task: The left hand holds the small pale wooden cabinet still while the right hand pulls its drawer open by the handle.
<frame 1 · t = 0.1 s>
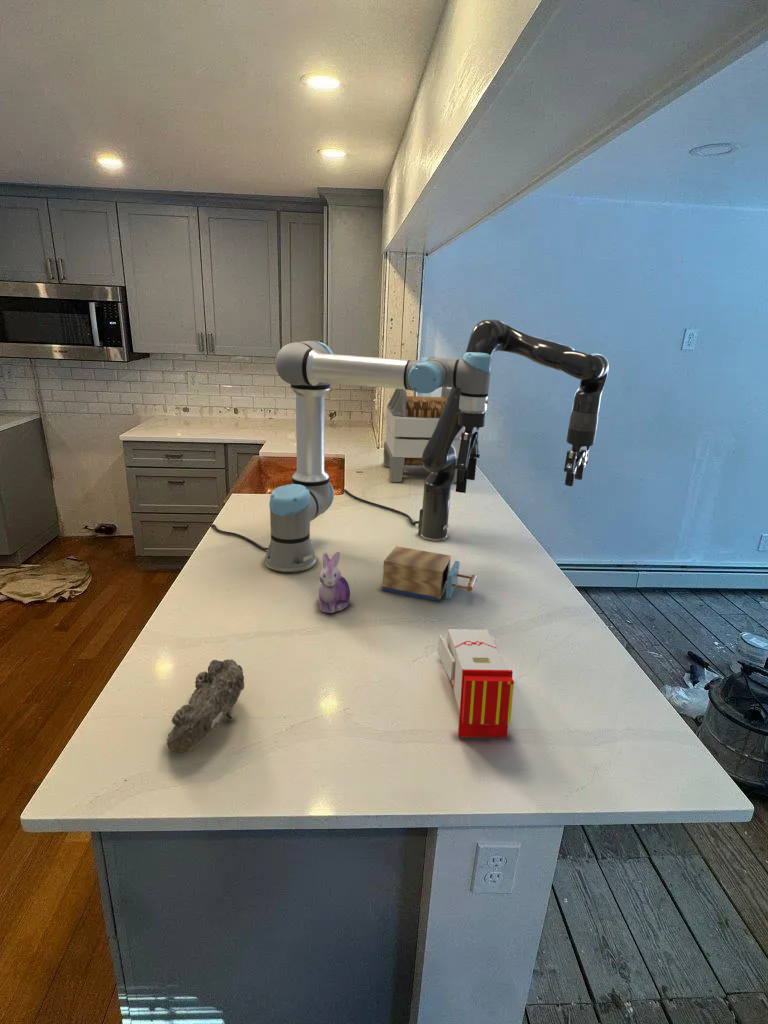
left hand: (465, 485, 162), 28 cm above the counter, tool pointing down, fingers open, 13 cm apart
right hand: (573, 482, 165), 29 cm above the counter, tool pointing down, fingers open, 8 cm apart
cabinet: (415, 586, 162), on the counter
fossil: (212, 717, 108), on the counter
toy: (469, 691, 119), on the counter
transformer: (419, 473, 275), on the counter
drawer: (438, 576, 159), point 4 cm above the counter, slide at 1.5 cm
figurine: (333, 605, 150), on the counter
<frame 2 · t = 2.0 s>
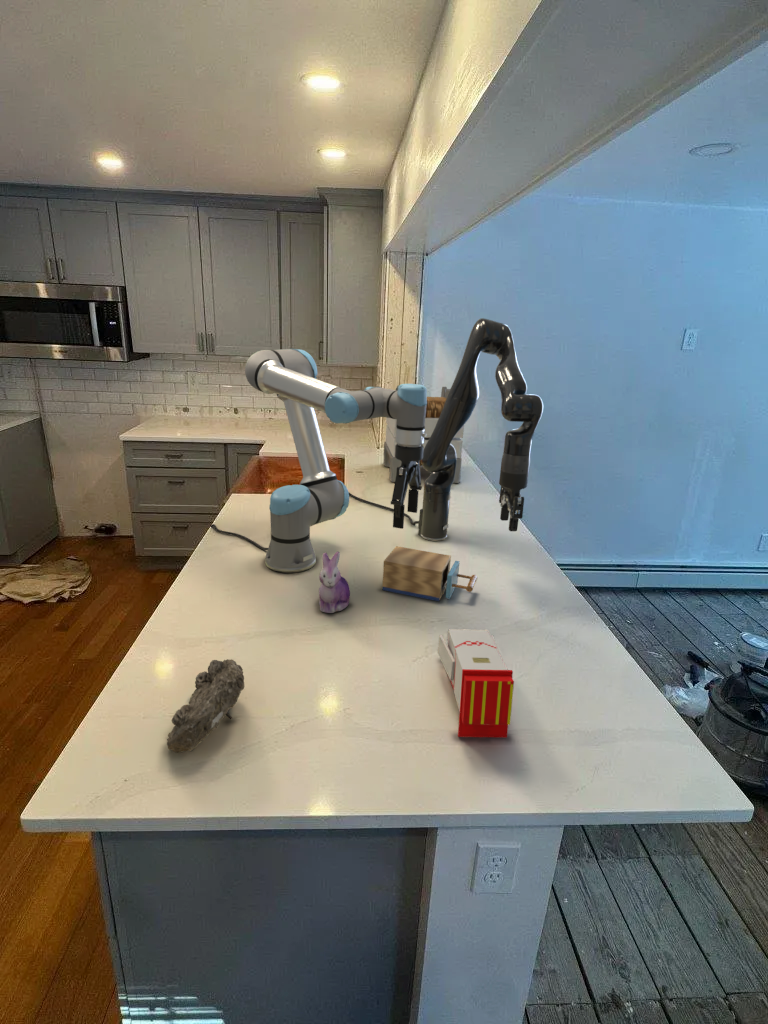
left hand: (405, 519, 157), 20 cm above the counter, tool pointing down, fingers open, 13 cm apart
right hand: (508, 525, 158), 19 cm above the counter, tool pointing down, fingers open, 8 cm apart
nothing on the counter moved.
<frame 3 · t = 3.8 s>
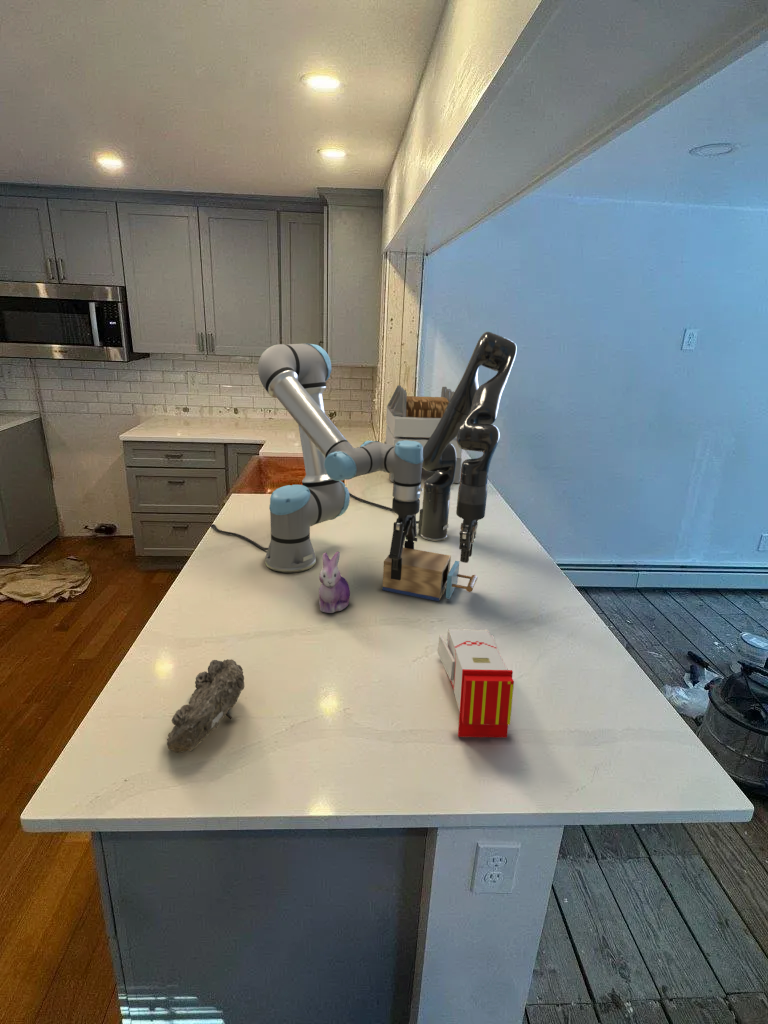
left hand: (402, 570, 162), 4 cm above the counter, tool pointing down, fingers closed on cabinet, 11 cm apart
right hand: (465, 558, 155), 11 cm above the counter, tool pointing down, fingers open, 3 cm apart
cabinet: (415, 586, 162), on the counter, touching left hand
everything else where it was.
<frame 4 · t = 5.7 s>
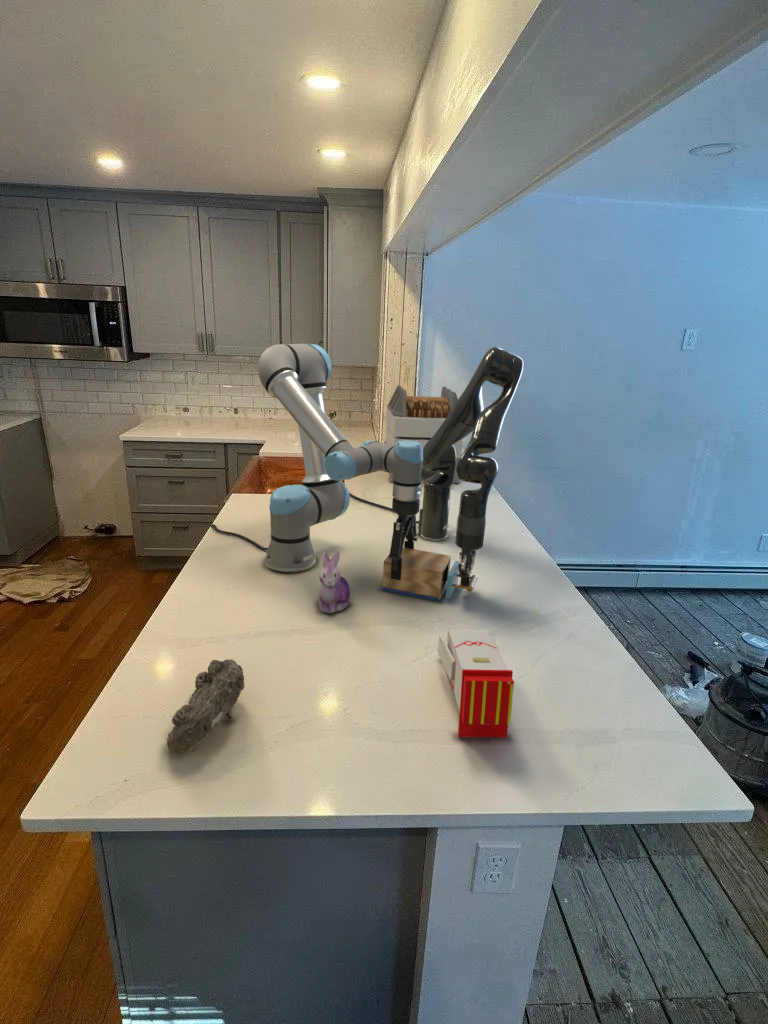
left hand: (402, 570, 162), 4 cm above the counter, tool pointing down, fingers closed on cabinet, 11 cm apart
right hand: (464, 586, 157), 3 cm above the counter, tool pointing down, fingers closed
cabinet: (415, 586, 162), on the counter, touching left hand
drawer: (438, 576, 159), point 4 cm above the counter, slide at 1.6 cm, touching right hand
everything else where it was.
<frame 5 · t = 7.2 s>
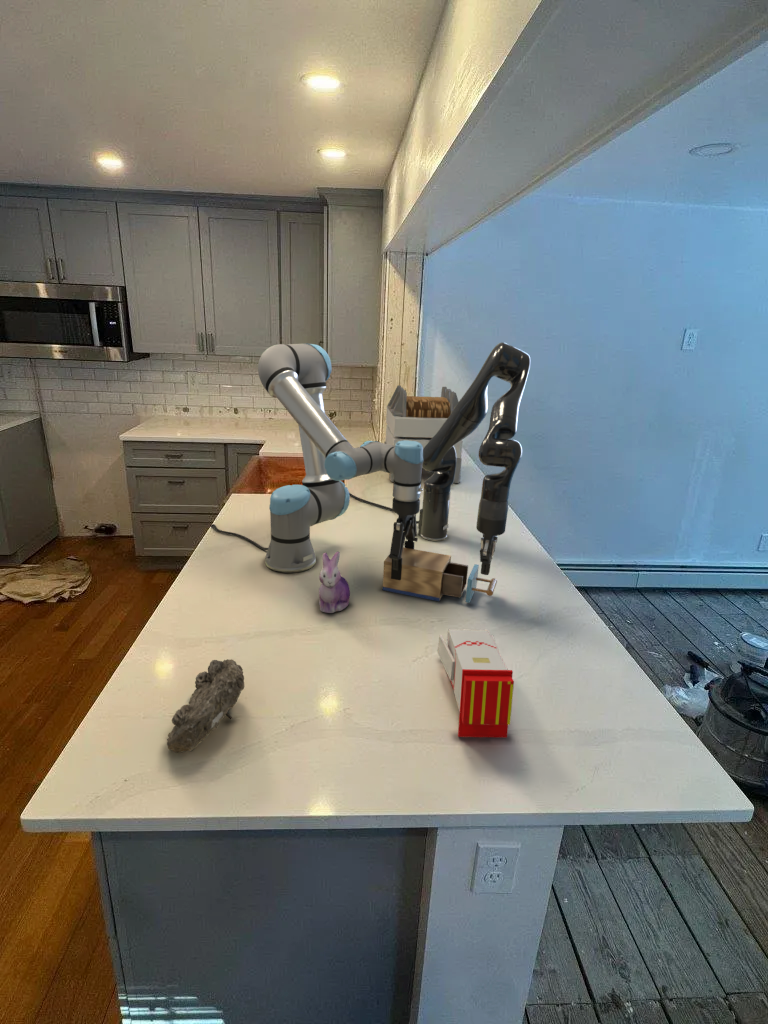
left hand: (402, 570, 162), 4 cm above the counter, tool pointing down, fingers closed on cabinet, 11 cm apart
right hand: (484, 573, 154), 8 cm above the counter, tool pointing down, fingers closed
cabinet: (416, 586, 162), on the counter, touching left hand
drawer: (457, 580, 157), point 4 cm above the counter, slide at 6.9 cm
everything else where it was.
when the left hand's fingers open (4 cm above the counter, at t = 8.4 s): cabinet stays where it is, on the counter.
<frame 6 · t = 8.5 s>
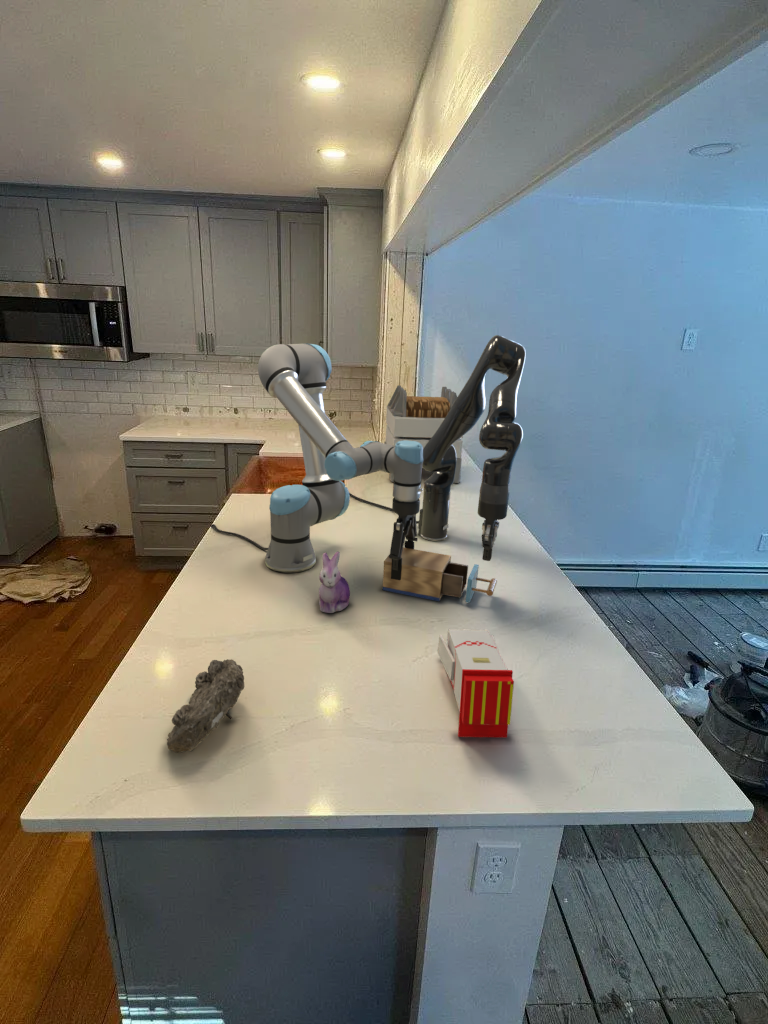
left hand: (402, 570, 162), 4 cm above the counter, tool pointing down, fingers open, 11 cm apart
right hand: (486, 559, 153), 12 cm above the counter, tool pointing down, fingers closed
cabinet: (416, 586, 162), on the counter
everything else where it was.
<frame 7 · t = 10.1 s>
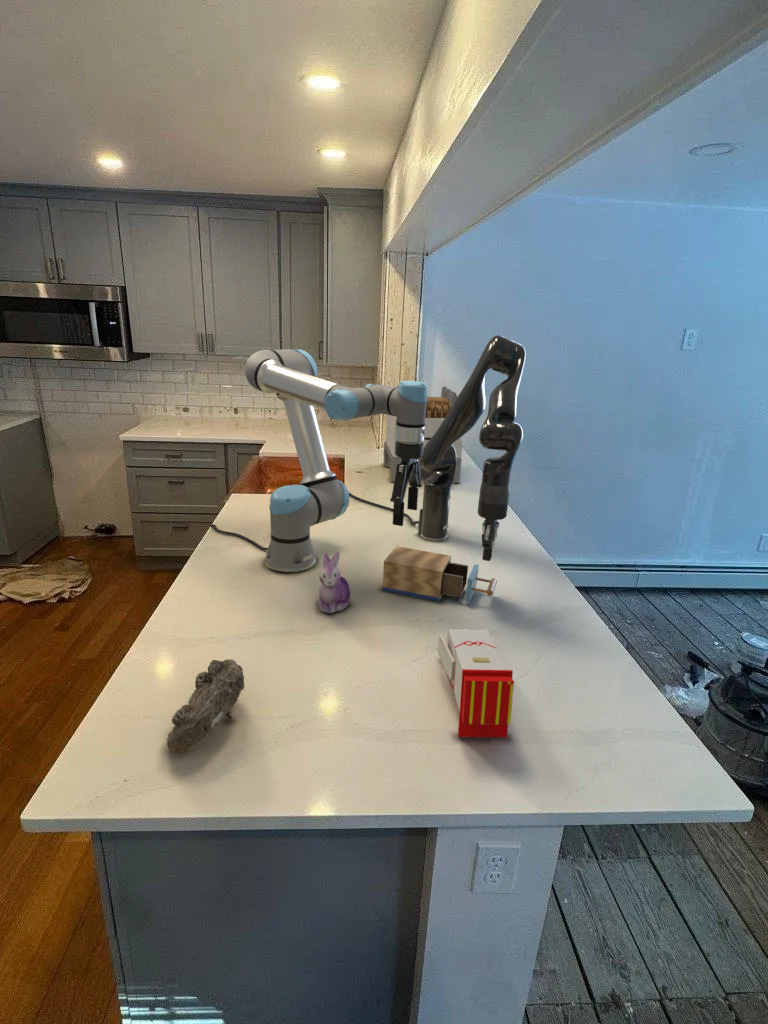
left hand: (405, 517, 157), 21 cm above the counter, tool pointing down, fingers open, 13 cm apart
right hand: (486, 559, 153), 12 cm above the counter, tool pointing down, fingers closed
nothing on the counter moved.
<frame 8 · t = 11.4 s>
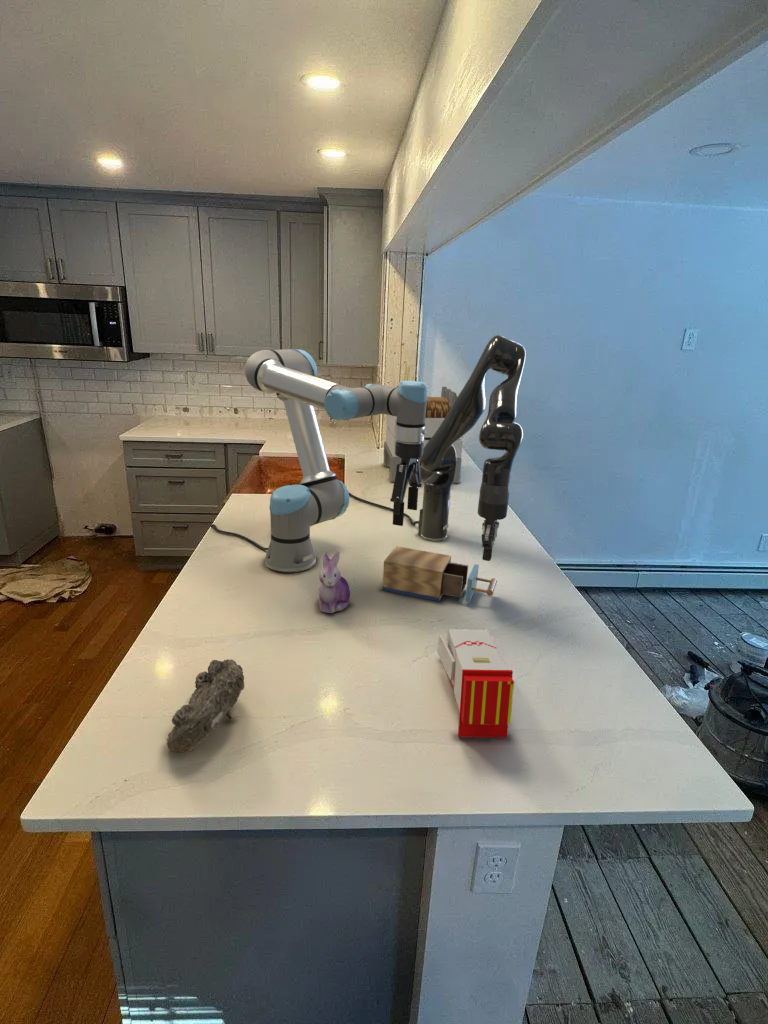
left hand: (405, 516, 157), 21 cm above the counter, tool pointing down, fingers open, 13 cm apart
right hand: (486, 559, 153), 12 cm above the counter, tool pointing down, fingers closed
nothing on the counter moved.
at the end: drawer slide at 6.9 cm; cabinet tilted 0°; cabinet never tilted more than 1° during the clip; cabinet moved 0.1 cm from its start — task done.
